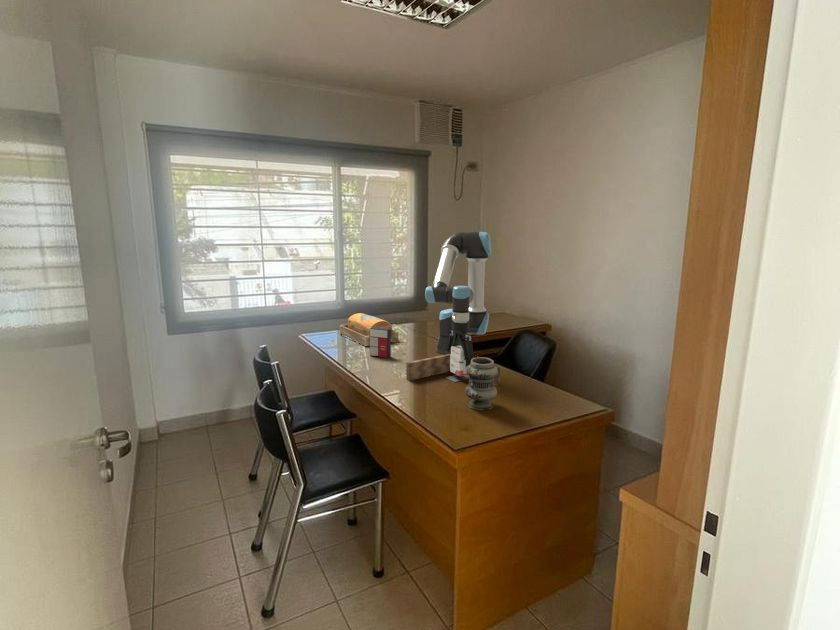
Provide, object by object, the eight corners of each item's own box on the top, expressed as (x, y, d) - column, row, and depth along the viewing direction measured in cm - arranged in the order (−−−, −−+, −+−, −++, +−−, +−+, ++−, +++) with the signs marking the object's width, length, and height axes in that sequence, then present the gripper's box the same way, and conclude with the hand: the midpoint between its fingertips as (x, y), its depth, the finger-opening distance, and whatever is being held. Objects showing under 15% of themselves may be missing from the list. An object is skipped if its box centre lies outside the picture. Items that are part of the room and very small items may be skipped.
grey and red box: (369, 356, 230) (368, 328, 227) (372, 354, 233) (372, 326, 230) (387, 358, 225) (387, 330, 223) (391, 356, 229) (391, 328, 226)
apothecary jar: (474, 413, 159) (476, 366, 155) (459, 402, 170) (460, 357, 166) (502, 408, 163) (504, 362, 160) (485, 397, 174) (487, 354, 171)
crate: (370, 330, 288) (370, 321, 286) (398, 341, 259) (398, 331, 258) (339, 334, 275) (339, 325, 274) (365, 347, 247) (365, 336, 246)
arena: (458, 367, 211) (458, 351, 209) (499, 384, 188) (500, 367, 187) (406, 379, 194) (406, 362, 193) (444, 399, 172) (445, 380, 170)
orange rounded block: (394, 342, 259) (394, 319, 256) (369, 346, 250) (369, 322, 247) (370, 332, 283) (370, 311, 280) (347, 335, 274) (346, 314, 271)
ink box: (469, 375, 194) (470, 349, 191) (459, 376, 191) (460, 350, 189) (458, 369, 201) (459, 344, 199) (449, 371, 199) (449, 346, 197)
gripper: (439, 317, 198) (438, 365, 203) (470, 326, 181) (468, 378, 185) (451, 316, 202) (450, 362, 207) (483, 324, 185) (481, 375, 189)
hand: (459, 370), depth 196 cm, fingers closed on ink box, 9 cm apart
